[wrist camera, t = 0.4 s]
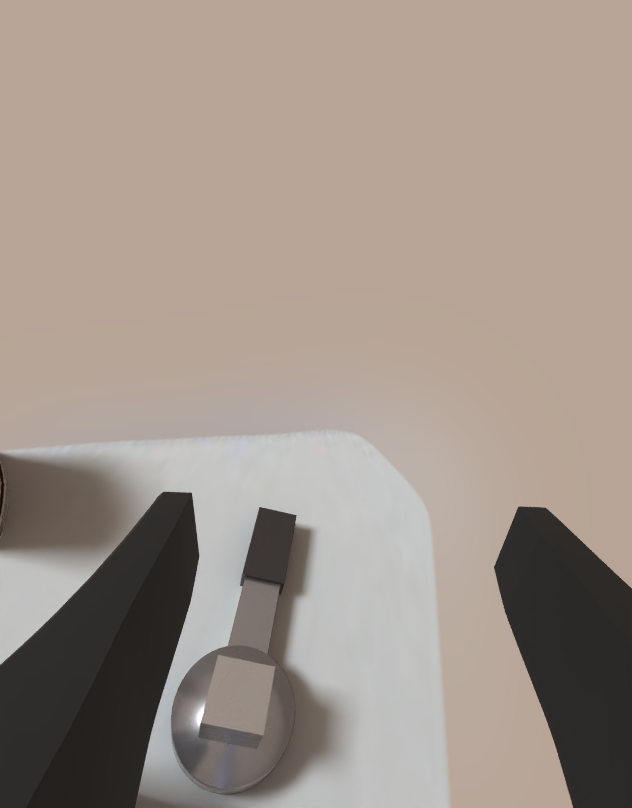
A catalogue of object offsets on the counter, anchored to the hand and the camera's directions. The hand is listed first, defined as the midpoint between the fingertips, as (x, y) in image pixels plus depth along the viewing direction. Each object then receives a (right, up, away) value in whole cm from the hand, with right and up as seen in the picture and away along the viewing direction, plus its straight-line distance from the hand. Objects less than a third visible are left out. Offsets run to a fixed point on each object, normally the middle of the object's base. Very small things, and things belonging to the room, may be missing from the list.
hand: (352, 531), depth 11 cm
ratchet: (-5, -10, +17) cm, 20 cm away
